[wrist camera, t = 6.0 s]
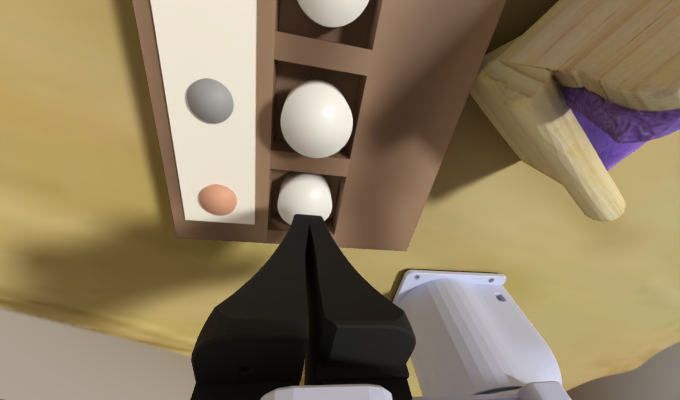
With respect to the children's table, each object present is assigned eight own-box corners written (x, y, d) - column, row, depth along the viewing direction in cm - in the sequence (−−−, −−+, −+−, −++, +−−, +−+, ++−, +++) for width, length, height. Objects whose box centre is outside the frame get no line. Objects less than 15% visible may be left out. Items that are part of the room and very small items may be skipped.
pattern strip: (257, -101, 9) (255, -106, 8) (255, 222, 15) (253, 226, 15) (132, -136, 8) (124, -143, 8) (186, 217, 15) (183, 222, 14)
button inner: (333, 171, 16) (336, 185, 14) (326, 213, 17) (328, 229, 16) (281, 166, 15) (278, 180, 14) (278, 209, 17) (276, 226, 15)
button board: (497, -62, 12) (539, -82, 10) (395, 227, 20) (406, 251, 18) (138, -169, 9) (89, -228, 7) (192, 212, 17) (176, 237, 15)
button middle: (353, 85, 12) (359, 92, 11) (341, 147, 14) (345, 161, 12) (285, 73, 12) (282, 80, 10) (281, 140, 13) (278, 153, 12)
